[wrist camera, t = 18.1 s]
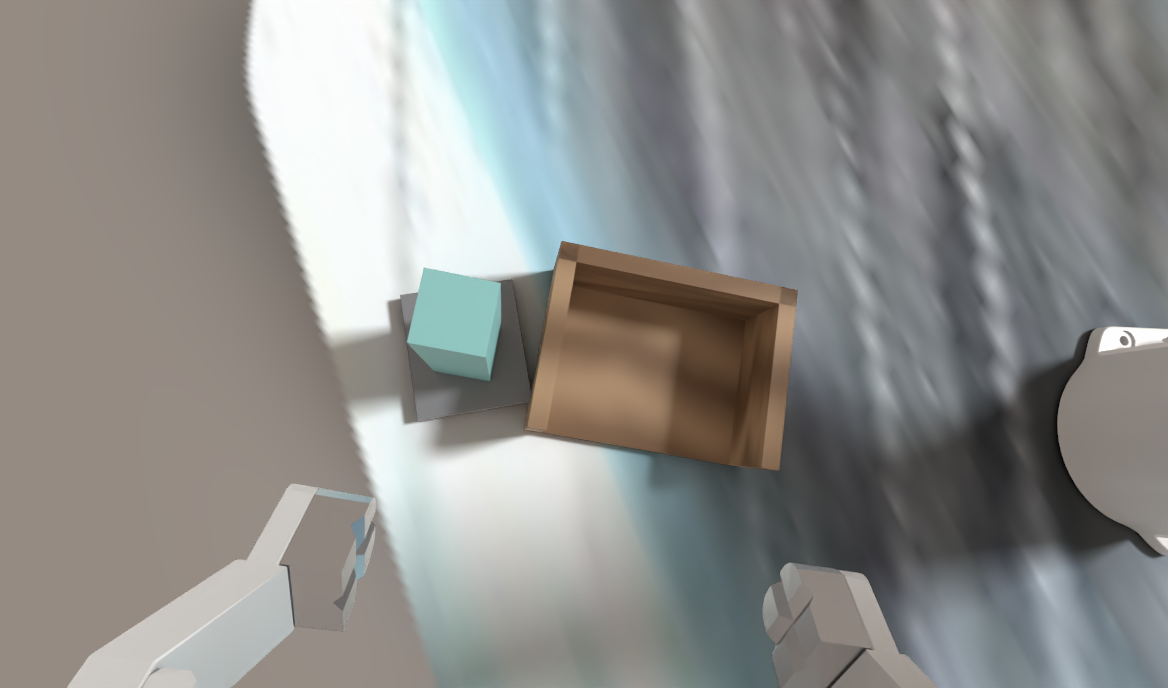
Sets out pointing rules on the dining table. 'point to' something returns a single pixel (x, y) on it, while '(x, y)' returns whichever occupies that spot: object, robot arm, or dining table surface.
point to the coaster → (468, 394)
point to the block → (457, 324)
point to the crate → (663, 359)
